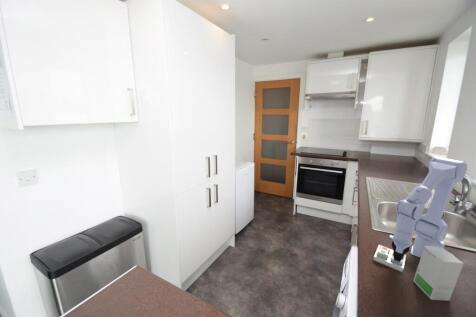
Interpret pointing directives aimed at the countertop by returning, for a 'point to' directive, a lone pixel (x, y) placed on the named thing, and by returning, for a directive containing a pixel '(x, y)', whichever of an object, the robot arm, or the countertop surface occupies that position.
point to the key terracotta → (384, 248)
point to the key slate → (396, 261)
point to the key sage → (382, 254)
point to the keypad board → (389, 260)
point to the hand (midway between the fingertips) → (397, 259)
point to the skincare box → (437, 273)
